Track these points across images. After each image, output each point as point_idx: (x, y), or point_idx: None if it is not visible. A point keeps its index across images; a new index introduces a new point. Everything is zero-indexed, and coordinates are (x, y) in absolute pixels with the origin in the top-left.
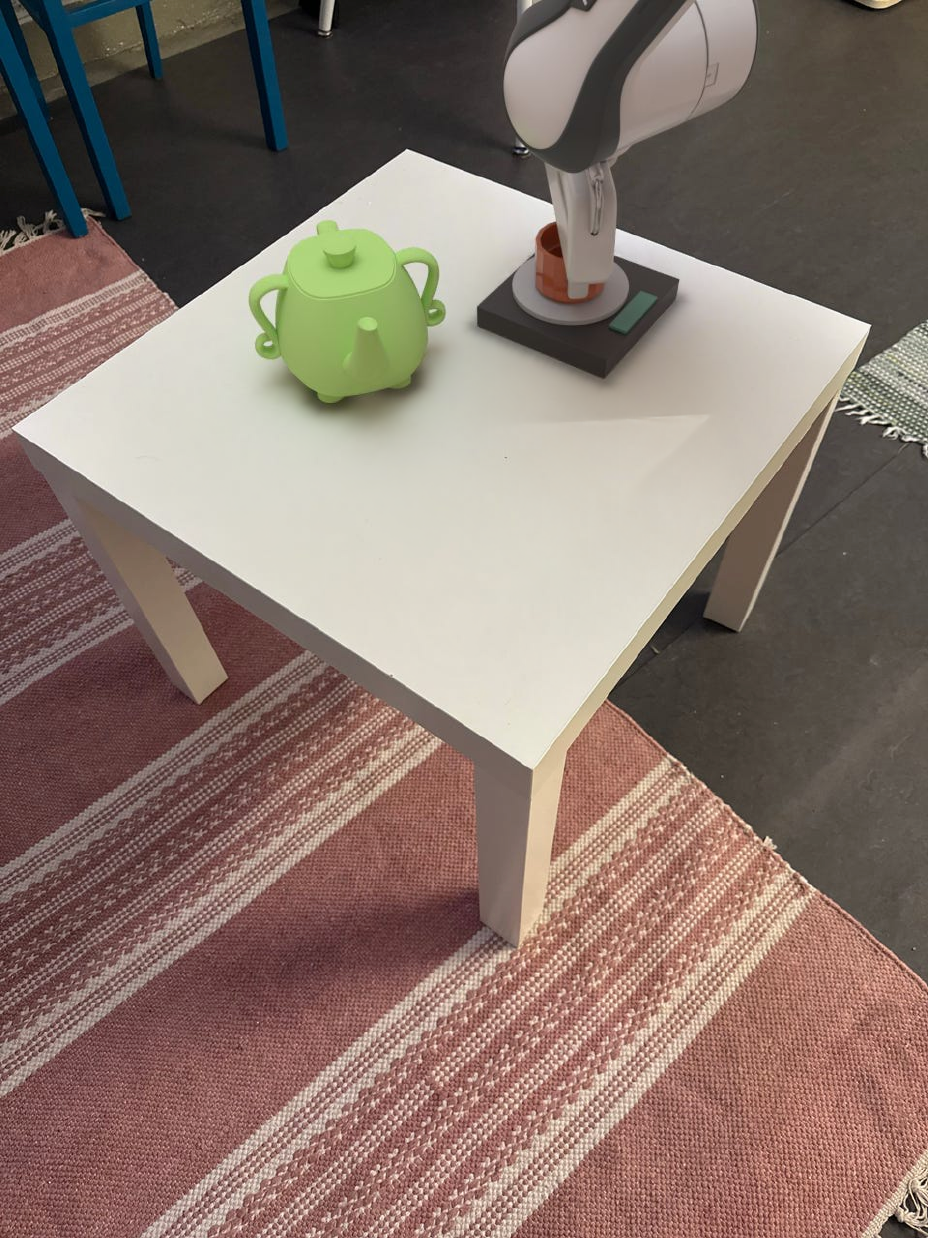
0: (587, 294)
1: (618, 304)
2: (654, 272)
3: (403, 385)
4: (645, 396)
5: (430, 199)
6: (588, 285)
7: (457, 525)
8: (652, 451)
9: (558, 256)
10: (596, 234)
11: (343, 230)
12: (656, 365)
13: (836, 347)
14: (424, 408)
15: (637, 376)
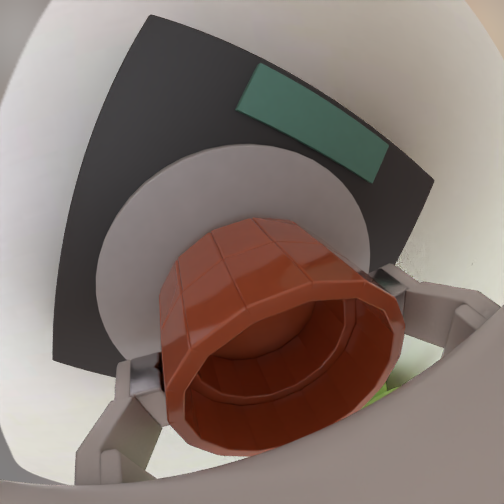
0: (392, 264)
1: (318, 167)
2: (124, 83)
3: (385, 382)
4: (428, 109)
5: (55, 458)
6: (410, 276)
7: (498, 276)
8: (481, 115)
9: (205, 363)
10: (436, 363)
11: None
12: (373, 80)
13: None
14: (412, 353)
15: (398, 116)
